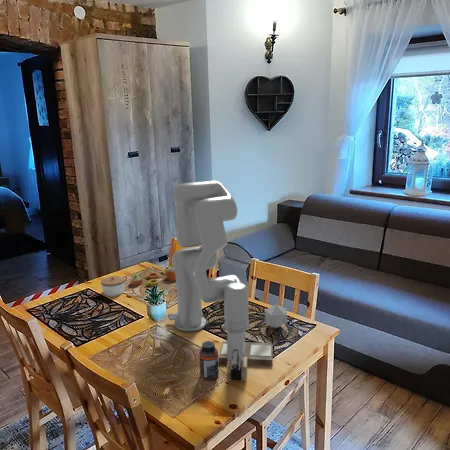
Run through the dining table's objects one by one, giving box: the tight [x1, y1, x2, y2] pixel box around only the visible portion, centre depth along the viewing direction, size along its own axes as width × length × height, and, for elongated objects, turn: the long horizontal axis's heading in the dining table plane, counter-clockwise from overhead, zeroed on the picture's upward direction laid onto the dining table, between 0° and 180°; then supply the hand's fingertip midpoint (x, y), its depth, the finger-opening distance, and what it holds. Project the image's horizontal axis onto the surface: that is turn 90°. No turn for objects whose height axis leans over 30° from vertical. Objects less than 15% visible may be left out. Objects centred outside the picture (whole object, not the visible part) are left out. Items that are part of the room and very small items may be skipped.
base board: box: [218, 340, 274, 366], centre depth 152 cm, size 18×11×2 cm, turn 83°
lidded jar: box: [100, 275, 126, 297], centre depth 205 cm, size 11×11×9 cm
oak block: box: [226, 357, 248, 382], centre depth 140 cm, size 6×6×5 cm
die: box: [264, 304, 288, 329], centre depth 170 cm, size 8×9×10 cm
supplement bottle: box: [198, 340, 220, 381], centre depth 140 cm, size 6×6×11 cm
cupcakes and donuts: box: [130, 263, 176, 287], centre depth 219 cm, size 26×16×10 cm, turn 132°
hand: (237, 371), depth 141 cm, fingers open, 8 cm apart
